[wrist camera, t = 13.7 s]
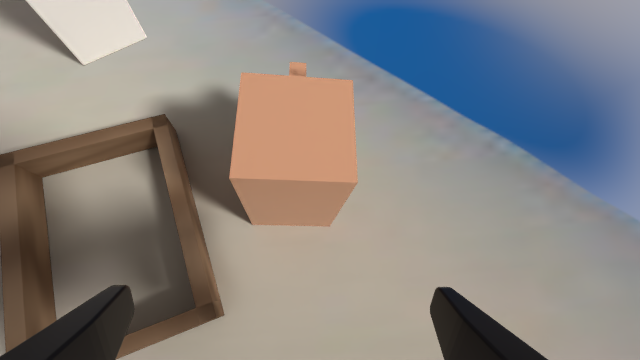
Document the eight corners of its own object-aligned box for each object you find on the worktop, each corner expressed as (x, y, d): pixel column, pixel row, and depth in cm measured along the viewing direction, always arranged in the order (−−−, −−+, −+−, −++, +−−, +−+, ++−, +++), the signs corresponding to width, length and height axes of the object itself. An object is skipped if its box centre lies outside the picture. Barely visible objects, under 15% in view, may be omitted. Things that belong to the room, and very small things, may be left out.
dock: (224, 315, 21) (216, 317, 18) (43, 388, 18) (8, 402, 16) (175, 130, 25) (164, 114, 23) (25, 169, 23) (-4, 155, 20)
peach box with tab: (329, 226, 24) (357, 182, 14) (252, 224, 23) (229, 178, 14) (328, 133, 27) (351, 47, 17) (260, 130, 26) (245, 39, 17)
